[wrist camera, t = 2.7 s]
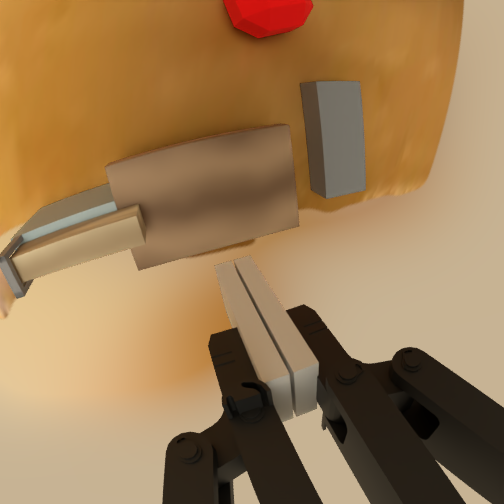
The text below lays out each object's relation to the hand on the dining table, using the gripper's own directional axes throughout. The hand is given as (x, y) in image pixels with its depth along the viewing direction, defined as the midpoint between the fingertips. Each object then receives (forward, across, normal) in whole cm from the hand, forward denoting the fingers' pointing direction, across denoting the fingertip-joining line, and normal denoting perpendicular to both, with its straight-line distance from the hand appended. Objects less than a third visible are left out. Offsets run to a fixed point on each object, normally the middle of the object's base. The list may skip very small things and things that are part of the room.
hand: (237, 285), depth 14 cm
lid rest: (+22, +18, +2) cm, 29 cm away
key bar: (+13, -11, 0) cm, 17 cm away
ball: (+23, +11, +19) cm, 32 cm away
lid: (+15, +1, 0) cm, 15 cm away
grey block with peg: (+22, -13, 0) cm, 26 cm away
